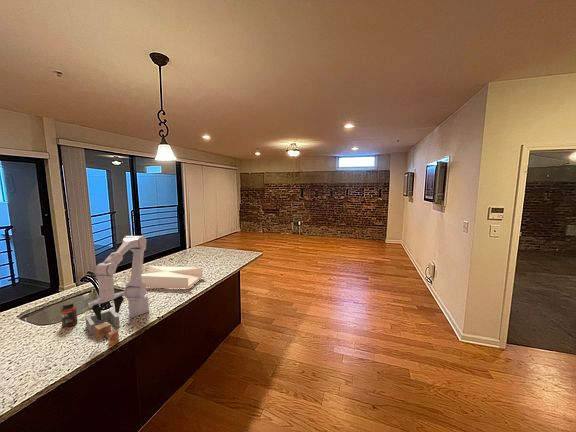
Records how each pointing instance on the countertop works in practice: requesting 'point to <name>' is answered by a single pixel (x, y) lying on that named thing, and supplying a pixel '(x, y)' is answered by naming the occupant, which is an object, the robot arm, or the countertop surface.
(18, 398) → the countertop surface
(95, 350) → the countertop surface
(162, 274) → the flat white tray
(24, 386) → the countertop surface
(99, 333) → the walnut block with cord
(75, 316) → the supplement bottle
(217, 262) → the countertop surface
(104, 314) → the slate lane
